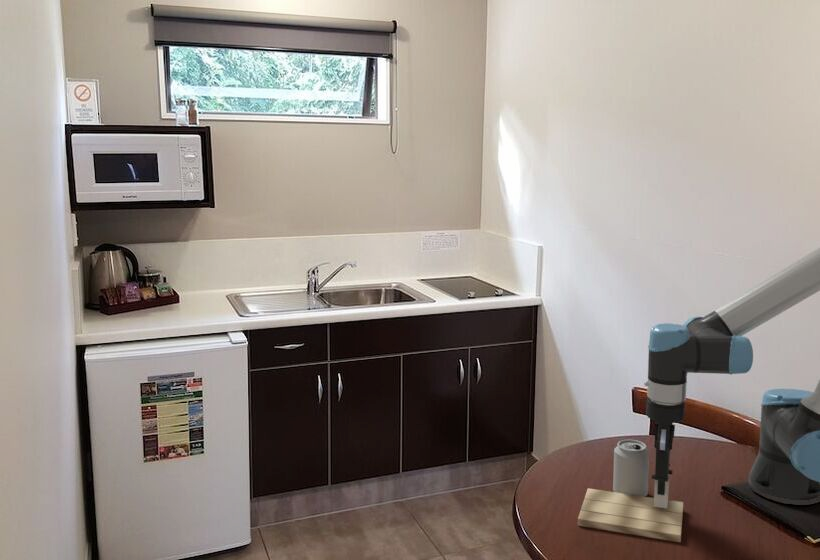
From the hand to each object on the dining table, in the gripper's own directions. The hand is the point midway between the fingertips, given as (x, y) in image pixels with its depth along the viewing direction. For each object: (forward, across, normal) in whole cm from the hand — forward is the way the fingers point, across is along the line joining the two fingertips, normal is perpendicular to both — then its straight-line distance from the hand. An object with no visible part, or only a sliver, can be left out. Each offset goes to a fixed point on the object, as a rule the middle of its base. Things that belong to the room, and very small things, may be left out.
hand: (660, 505), depth 154 cm
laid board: (+2, +8, -6) cm, 10 cm away
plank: (+2, +2, -6) cm, 6 cm away
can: (+2, -7, -7) cm, 10 cm away
